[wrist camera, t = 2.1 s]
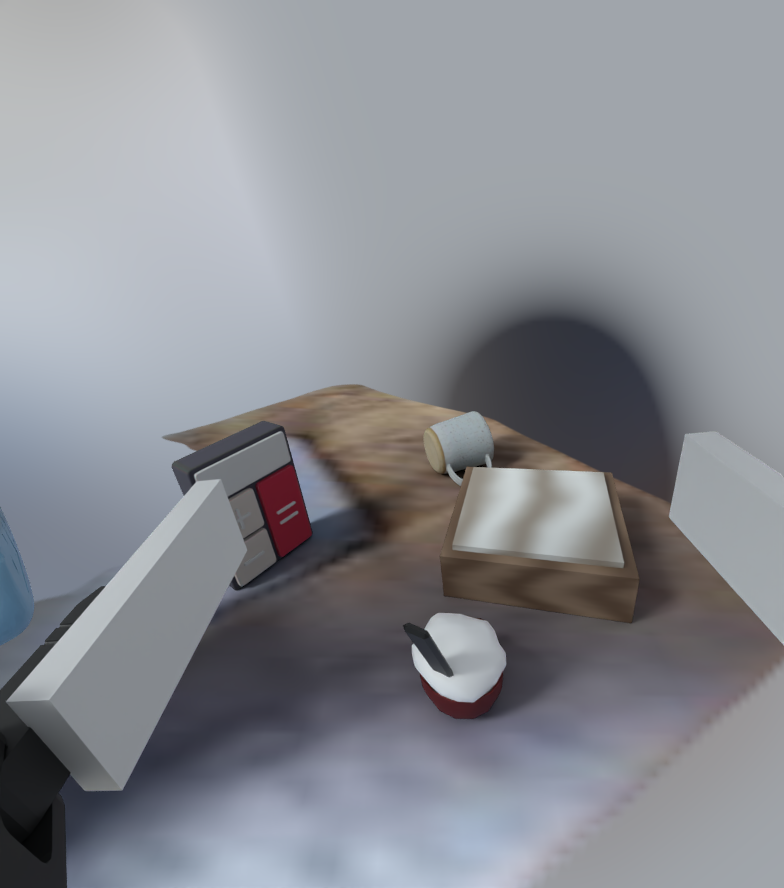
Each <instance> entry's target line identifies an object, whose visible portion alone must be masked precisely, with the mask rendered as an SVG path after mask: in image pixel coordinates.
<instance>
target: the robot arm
mask: <svg viewBox="0 0 784 888" xmlns="http://www.w3.org/2000/svg"><path fill="white" fill-rule="evenodd" d="M669 518H670V519H671V520H672V521H673V522H674V524H675V525H676V526H677V527H678V528H679V529H680V530H681V531H682V532H683V534H684V535H685V536H686V537H687V538H688V539H689V540H690V541H691V542H692V544H693V545H694V546H695V547H696V548H697V549H698V550H699V551H700V552H701V554H702V555H703V556H704V557H705V558H706V559H707V560H708V561H709V563H710V564H711V565H712V566H713V567H714V568H715V569H716V570H717V571H718V573H719V574H720V575H721V576H722V577H723V578H724V579H725V580H726V581H727V583H728V584H729V585H730V586H731V587H732V588H733V589H734V590H735V592H736V593H737V594H738V595H739V596H740V597H741V598H742V599H743V600H744V602H745V603H746V604H747V605H748V606H749V607H750V608H751V609H752V610H753V612H754V613H755V614H756V615H757V616H758V617H759V618H760V619H761V621H762V622H763V623H764V624H765V625H766V626H767V627H768V628H769V629H770V631H771V632H772V633H773V634H774V635H775V636H776V637H777V638H778V639H779V641H780V642H781V643H782V644H783V645H784V476H783V475H782V474H780V473H778V472H777V471H775V470H774V469H772V468H771V467H769V466H768V465H766V464H765V463H763V462H762V461H760V460H759V459H757V458H756V457H754V456H753V455H751V454H750V453H748V452H747V451H745V450H744V449H742V448H741V447H739V446H738V445H736V444H734V443H733V442H731V441H730V440H728V439H727V438H725V437H724V436H722V435H721V434H719V433H718V432H716V431H712V432H702V433H692V434H685V438H684V443H683V448H682V453H681V458H680V463H679V468H678V473H677V479H676V484H675V489H674V494H673V499H672V504H671V509H670V514H669ZM246 552H247V548H246V545H245V543H244V540H243V537H242V535H241V532H240V529H239V526H238V524H237V521H236V518H235V516H234V513H233V510H232V508H231V505H230V502H229V500H228V497H227V494H226V492H225V489H224V486H223V483H222V481H221V479H216V480H206V481H197V482H196V483H195V484H194V485H193V486H192V487H191V489H190V490H189V491H188V492H187V493H186V494H185V495H184V497H183V498H182V499H181V500H180V501H179V502H178V504H177V505H176V506H175V507H174V508H173V509H172V511H171V512H170V513H169V514H168V515H167V516H166V517H165V519H164V520H163V521H162V522H161V523H160V524H159V526H158V527H157V528H156V529H155V530H154V531H153V532H152V534H151V535H150V536H149V537H148V538H147V539H146V541H145V542H144V543H143V544H142V545H141V546H140V548H139V549H138V550H137V551H136V552H135V553H134V554H133V556H132V557H131V558H130V559H129V560H128V561H127V562H126V564H125V565H124V566H123V567H122V568H121V569H120V571H119V572H118V573H117V574H116V575H115V576H114V577H113V579H112V580H111V581H110V582H109V583H108V584H107V586H102V587H100V588H98V589H97V590H96V591H95V592H93V593H92V594H91V595H89V596H88V597H87V598H85V599H84V600H83V601H81V602H80V603H79V604H78V605H77V606H76V607H75V608H74V609H73V610H72V611H71V612H70V613H69V615H68V616H67V617H66V618H65V619H64V620H63V621H62V622H61V623H60V627H59V628H56V629H55V630H54V631H53V632H52V633H51V635H50V636H49V637H48V638H47V639H46V640H45V644H44V645H41V646H40V647H39V648H38V649H37V650H36V651H35V652H34V653H33V655H32V656H31V657H30V658H29V659H28V660H27V661H26V662H25V663H24V665H23V666H22V667H21V668H20V669H19V670H18V671H17V672H16V673H15V675H14V676H13V677H12V678H11V679H10V680H9V681H8V682H7V683H6V685H5V686H4V687H3V688H2V689H1V690H0V888H67V873H66V833H65V805H64V802H63V799H62V796H61V795H60V794H59V793H58V792H59V791H60V789H61V788H62V786H63V785H64V783H65V781H66V780H67V778H68V777H69V775H71V776H72V777H73V778H74V779H75V781H76V782H77V783H78V784H79V785H80V786H81V787H82V788H83V790H84V791H122V790H123V788H124V786H125V784H126V783H127V781H128V779H129V777H130V775H131V773H132V771H133V769H134V767H135V765H136V763H137V761H138V759H139V758H140V756H141V754H142V752H143V750H144V748H145V746H146V744H147V742H148V740H149V738H150V736H151V734H152V733H153V731H154V729H155V727H156V725H157V723H158V721H159V719H160V717H161V715H162V713H163V711H164V709H165V708H166V706H167V704H168V702H169V700H170V698H171V696H172V694H173V692H174V690H175V688H176V686H177V684H178V683H179V681H180V679H181V677H182V675H183V673H184V671H185V669H186V667H187V665H188V663H189V661H190V659H191V658H192V656H193V654H194V652H195V650H196V648H197V646H198V644H199V642H200V640H201V638H202V636H203V634H204V633H205V631H206V629H207V627H208V625H209V623H210V621H211V619H212V617H213V615H214V613H215V611H216V609H217V608H218V606H219V604H220V602H221V600H222V598H223V596H224V594H225V592H226V590H227V588H228V586H229V585H230V583H231V581H232V579H233V577H234V575H235V573H236V571H237V569H238V567H239V565H240V563H241V561H242V560H243V558H244V556H245V554H246ZM33 613H34V599H33V594H32V590H31V586H30V582H29V579H28V575H27V572H26V569H25V566H24V563H23V560H22V558H21V555H20V552H19V549H18V547H17V544H16V542H15V539H14V537H13V534H12V532H11V529H10V527H9V525H8V523H7V520H6V518H5V516H4V513H3V512H2V509H1V507H0V645H2V644H4V643H6V642H8V641H9V640H11V639H13V638H15V637H16V636H18V635H19V634H20V633H22V632H23V631H24V630H25V629H26V627H27V626H28V625H29V623H30V621H31V619H32V617H33Z"/></svg>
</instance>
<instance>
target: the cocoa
mask: <svg viewBox="0 0 784 888" xmlns="http://www.w3.org/2000/svg"><path fill="white" fill-rule="evenodd" d="M403 627H404V630H405V632H406V633H407V635H408V636H409V637H410V639H411V640H412V642H413V643H414V644H413V645H412V657H413V661H414V665H415V668H416V669H417V670H418V671H419V672H420V677H421V681H422V686H423V688H424V690H425V692H426V694H427V695H428V696H429V698H430V699H431V700H432V702H433V703H434V704H435V705H436V707H437V708H438V709H439V710H440V711H441V712H443V713H445V714H447V715H449V716H451V717H453V718H455V719H474V718H476V717H478V716H480V715H482V714H484V713H486V712H488V711H489V709H490V708H491V706H492V705H493V703H494V702H495V700H496V699H497V697H498V695H499V693H500V691H501V688H502V681H503V670H504V668H505V666H506V653H505V651H504V650H503V648H502V647H501V646H500V644H499V642H498V639H497V636H496V633H495V630H494V629H493V628H492V626H491V625H490V624H489V622H488V621H485V620H483V619H481V618H477V619H476V618H472V617H469V616H465V615H463V614H454V613H437V614H435V615H434V616H433V617H431V618H430V620H429V622H428V624H427V625H426V627H425V629H422V628H420V627H417V626H415V625H413V624H410V623H407V624H405V625H403Z"/></svg>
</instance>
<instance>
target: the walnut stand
mask: <svg viewBox="0 0 784 888" xmlns="http://www.w3.org/2000/svg"><path fill="white" fill-rule="evenodd" d="M440 562H441V572H442V581H443V591H444V596H449V597H456V598H463V599H470V600H477V601H483V602H490V603H497V604H504V605H511V606H518V607H525V608H531V609H538V610H545V611H552V612H559V613H566V614H572V615H579V616H586V617H593V618H600V619H607V620H613V621H620V622H627V623H632V619H633V613H634V607H635V602H636V596H637V591H638V585H639V580H640V579H639V575H638V571H637V567H636V563H635V560H634V556H633V552H632V548H631V544H630V540H629V537H628V533H627V529H626V525H625V521H624V518H623V514H622V510H621V506H620V502H619V498H618V495H617V491H616V487H615V483H614V479H613V475H612V473H604V472H581V471H557V470H534V469H510V468H487V467H466V470H465V474H464V477H463V480H462V484H461V487H460V491H459V494H458V497H457V501H456V504H455V507H454V511H453V514H452V517H451V521H450V524H449V527H448V531H447V534H446V537H445V541H444V544H443V547H442V551H441V554H440Z"/></svg>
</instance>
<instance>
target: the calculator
mask: <svg viewBox="0 0 784 888" xmlns="http://www.w3.org/2000/svg"><path fill="white" fill-rule="evenodd" d="M172 469H173V471H174V474H175V476H176V478H177V481H178V483H179V485H180V488H181V490H182V492H183V494H184V495H185V494H186V493H187V492H188V491H189V490H190V489H191V487H192V486H193V485H194V484H195V483H196V482H197V481H206V480H216V479H221V481H222V483H223V486H224V489H225V492H226V494H227V497H228V500H229V502H230V505H231V508H232V510H233V513H234V516H235V518H236V521H237V524H238V526H239V529H240V532H241V535H242V537H243V540H244V543H245V545H246V548H247V552H246V554H245V556H244V558H243V560H242V561H241V563H240V565H239V567H238V569H237V571H236V573H235V575H234V577H233V579H232V581H231V583H230V585H229V586H231V587H232V588H233V589H235V590H238V589H240V588H241V587H243V586H244V585H246V584H247V583H248V582H250V581H251V580H252V579H254V578H255V577H256V576H258V575H259V574H260V573H262V572H263V571H264V570H266V569H267V568H269V567H270V566H271V565H273V564H274V563H275V562H276V561H278V560H279V559H280V558H282V557H283V556H285V555H286V554H287V553H289V552H290V551H292V550H293V549H294V548H296V547H297V546H298V545H300V544H301V543H302V542H304V541H305V540H306V539H308V538H309V537H310V536H311V535H312V528H311V525H310V521H309V517H308V514H307V510H306V506H305V503H304V499H303V496H302V492H301V488H300V485H299V481H298V477H297V474H296V470H295V466H294V463H293V459H292V455H291V452H290V448H289V444H288V441H287V437H286V434H285V430H284V427H283V426H280V425H276V424H273V423H270V422H266V421H261V422H259V423H257V424H255V425H253V426H251V427H248V428H246V429H244V430H242V431H240V432H237V433H235V434H233V435H231V436H229V437H227V438H224V439H222V440H220V441H218V442H216V443H214V444H211V445H209V446H207V447H205V448H203V449H201V450H198V451H196V452H194V453H192V454H190V455H188V456H186V457H183V458H181V459H179V460H177V461H175V462H174V463H173V464H172Z"/></svg>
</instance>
